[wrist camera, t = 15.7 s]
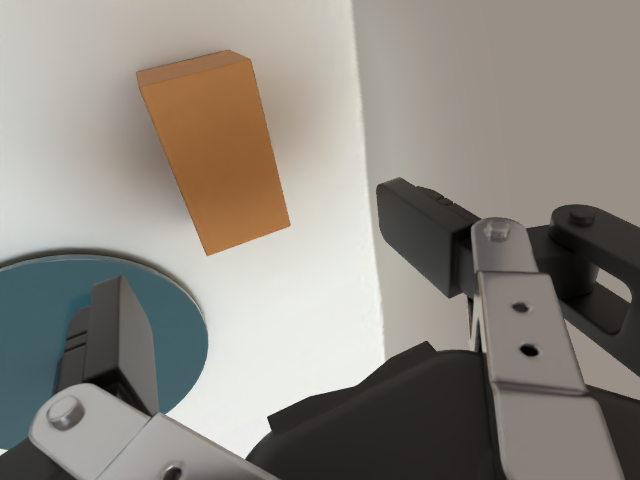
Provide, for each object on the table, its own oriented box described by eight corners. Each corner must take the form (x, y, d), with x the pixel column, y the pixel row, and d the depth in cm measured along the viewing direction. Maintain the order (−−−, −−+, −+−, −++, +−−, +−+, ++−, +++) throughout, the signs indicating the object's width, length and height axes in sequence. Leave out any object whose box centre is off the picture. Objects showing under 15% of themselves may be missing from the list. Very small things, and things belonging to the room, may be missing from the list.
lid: (-146, 403, 20) (-240, 545, 15) (30, 196, 19) (-6, 271, 13) (116, 455, 29) (115, 556, 23) (249, 315, 27) (279, 389, 22)
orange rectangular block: (135, 71, 18) (138, 87, 15) (229, 49, 19) (251, 59, 16) (195, 220, 23) (207, 256, 19) (268, 196, 24) (291, 226, 20)
